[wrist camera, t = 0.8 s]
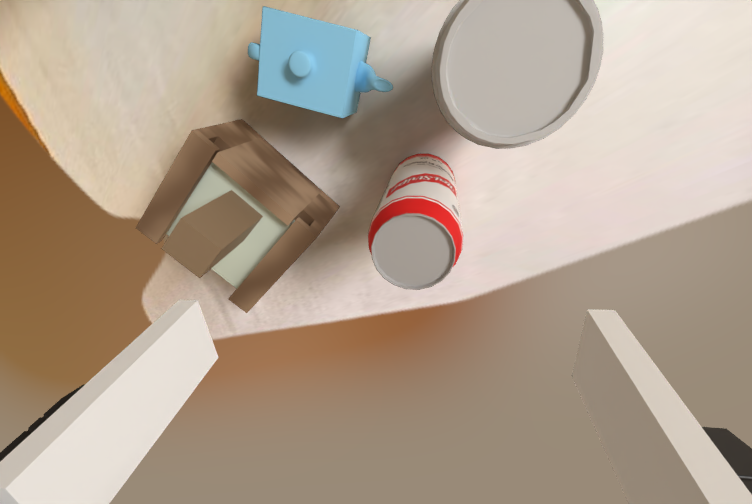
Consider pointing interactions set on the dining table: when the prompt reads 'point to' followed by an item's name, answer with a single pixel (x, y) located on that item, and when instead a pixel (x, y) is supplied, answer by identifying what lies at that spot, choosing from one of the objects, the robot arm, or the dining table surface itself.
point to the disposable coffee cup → (515, 67)
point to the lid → (223, 229)
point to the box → (259, 178)
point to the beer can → (417, 224)
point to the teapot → (313, 63)
